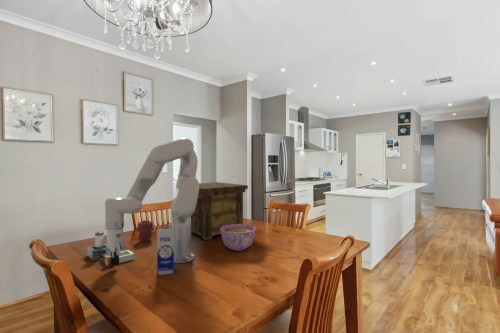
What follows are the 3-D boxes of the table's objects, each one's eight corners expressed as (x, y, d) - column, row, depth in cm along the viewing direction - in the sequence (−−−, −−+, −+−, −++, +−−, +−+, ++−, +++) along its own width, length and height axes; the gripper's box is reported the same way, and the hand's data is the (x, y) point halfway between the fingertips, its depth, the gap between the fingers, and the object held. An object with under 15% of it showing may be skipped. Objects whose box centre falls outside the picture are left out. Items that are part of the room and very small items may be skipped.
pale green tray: (134, 259, 133) (134, 253, 133) (117, 263, 127) (117, 257, 127) (128, 255, 139) (128, 249, 139) (111, 259, 133) (111, 253, 133)
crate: (247, 232, 183) (247, 185, 182) (203, 243, 159) (203, 188, 158) (217, 223, 208) (217, 182, 208) (176, 231, 185) (176, 184, 184)
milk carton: (157, 275, 114) (156, 229, 113) (157, 269, 120) (157, 225, 120) (174, 273, 116) (174, 228, 115) (174, 267, 122) (174, 224, 122)
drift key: (115, 264, 126) (115, 255, 126) (106, 266, 124) (106, 257, 123) (108, 258, 133) (108, 250, 133) (100, 260, 131) (99, 252, 131)
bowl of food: (252, 256, 138) (252, 233, 138) (215, 253, 142) (215, 231, 142) (258, 244, 158) (258, 224, 157) (226, 242, 162) (226, 223, 161)
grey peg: (105, 255, 138) (104, 232, 138) (96, 257, 135) (96, 234, 135) (102, 253, 141) (102, 231, 140) (94, 255, 138) (93, 232, 138)
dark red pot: (141, 238, 170) (156, 238, 169) (133, 242, 160) (149, 243, 159) (141, 218, 169) (156, 219, 168) (133, 222, 159) (149, 222, 158)
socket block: (111, 255, 138) (111, 247, 138) (92, 260, 131) (92, 251, 131) (106, 251, 144) (106, 243, 144) (87, 255, 138) (87, 247, 138)
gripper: (129, 226, 118) (129, 267, 118) (117, 221, 129) (117, 258, 129) (111, 229, 113) (111, 272, 113) (100, 223, 123) (100, 262, 124)
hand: (114, 265), depth 121 cm, fingers closed
